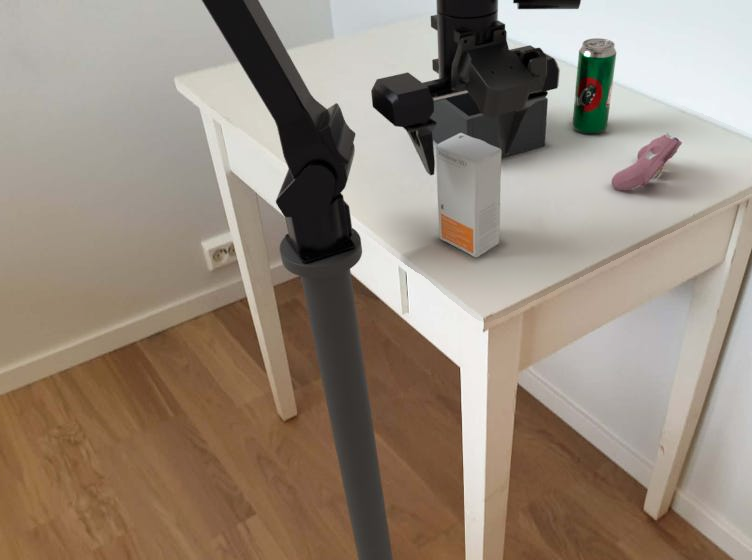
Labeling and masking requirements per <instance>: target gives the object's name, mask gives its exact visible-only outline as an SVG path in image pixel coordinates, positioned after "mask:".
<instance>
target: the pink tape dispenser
mask: <svg viewBox="0 0 752 560" xmlns="http://www.w3.org/2000/svg"><path fill="white" fill-rule="evenodd" d="M682 144H683V142H682V141H681V140H680V139H679V138H678V137H675V135H670V134H669V132H667V133H666V134H663V135H660V136H659V137H657V138H654V139H653V140H651V141H650V142H649V143H648V144H646V145H644V146H643V147H641V148H640V149H639V150H638V152H637V156H636V157H637V161H636V162H635V163H633V164H632V165H630V166H627V167H626V168H624V169H622V170H620V171H618V172H616V173H615V174H614V175H613V176H612V178H611V186H612V188H613V189H615V190H617V191H629V190H633V189H635V188H638V187H640V186H641V187H642V188H645V186H646V185H647V184H648V183H649V182H650V180H653V179H654V180H655V181H656V180H658V179H660V178H661V176H662V174H663V171H664V169H663V167H664V166H665V164H666V163H667V162H668V161H669V160H670V159H673V157H674V156H675V155H676V153H678V150H679V148H680V147H681V145H682Z"/></svg>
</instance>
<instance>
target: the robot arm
mask: <svg viewBox="0 0 752 560" xmlns="http://www.w3.org/2000/svg"><path fill="white" fill-rule="evenodd" d="M581 1H582V0H512V3H513V4H516V6H517V10H578V9H580V5H581ZM201 2H202V4H203V5H204V7H205V8H206V10H207V12H208V13H209V15H210V16H211V18H212V20H213V22H214V23H215V25H216V26H217V29H218V30H219V31H220V33H221V34H222V36H223V38H224V40H225V42H226V43H227V44H228V46H229V48H230V50H231V51H232V53H233V55H234V56H235V58H236V60H237V61H238V63H239V64H240V66H241V68H242V69H243V71H244V73H245V75H246V76H247V77H248V79H249V81H250V83H251V85H252V86H253V87H254V89H255V91H256V92H257V94H258V96H259V97H260V100H262V102H263V104H264V106H265V107H266V109H267V111H268V112H269V114H270V115H271V117H272V119H273V120H274V123H275V125H276V128H277V132H278V137H279V142H280V146H281V151H282V155H283V158H284V161H285V163H286V166H287V168H288V170H287V172H286V174H285V177H284V180H283V181H282V184H281V187H280V190H279V191H278V194H277V197H276V200H275V204H276V205H277V207H278V209H279V210H280V212H281V214H282V215H283V217H284V218H285V223H286V228H287V229H286V230H287V233H286V234H285V235H284V237H285V238H286V241H287V242H288V243H289V245H290V246H291V248H292V249H293V251H294V252H295V253H296V255H297V256H298V258H299V259H300V261H301V262H302V263H303V264H309V263H312V262H315V261H318V260H322V259H325V258H328V257H331V256H334V255H338V254H341V253H344V252H347V251H350V250H353V249H355V243H354V242H353V241H352V240H351V238H350V237H352V235H353V231H352V228H353V225H352V216H351V210H350V206H349V204H348V203H347V202H346V201H345V199H344V195H343V194H342V193H343V191H344V190H345V189H346V187H347V182H348V181H349V176H350V172H351V168H352V165H353V161H354V157H355V152H356V148H355V144H354V142H355V138H356V136H357V135H356V132H355V131H354V130H352V128H351V127H350V126H349V125H348V123H347V121H346V120H345V117H344V115H343V112H342V109H341V106H340V105H339V103H336V102H335V103H334V104H333V105H331V106H329V107H328V108H326V107H325V106H324V105H323V104H322V103H320V102H319V101H318V100H316V99H315V97H313V95H312V94H311V92H310V90H309V88H308V86H307V85H306V82H305V81H304V79H303V78H302V76H301V73H300V72H299V71H298V69H297V67H296V65H295V63H294V62H293V59H292V58H291V56H290V54H289V53H288V51H287V49H286V47H285V45H284V43H283V41H282V40H281V38H280V37H279V34H278V33H277V31H276V29H275V27H274V25H273V24H272V22H271V20H270V19H269V17H268V15H267V13H266V11H265V9H264V8H263V6H262V4H261V2H260V1H259V0H201ZM430 28H432V29H433V30H435V31H436V33H437V58H434V59H433V58H432V60H431V63H432V71H433V72H435V73H436V74H438V78H437V79H433V80H428V81H424V82H422V81H421V80H419V79H418V78H416V76H414V75H412V74H411V73H410V72H404V73H403V72H402V73H399V74H395V75H390V76H386V77H381V78H376V80H375V82H374V84H373V86H372V88H371V91H370V92H371V104H372V108H373V109H374V110H376V111H377V112H378V113H379V114H380V115H382V116H383V117H384V118H385V119H386V120H387V121H389V123H391V124H392V125H393V126H394V127H398V128H403V129H404V130H405V131H406V133H407V135H408V137H409V138H410V140H411V143H412V145H413V147H414V149H415V151H416V153H417V155H418V157H419V159H420V162H421V163H422V166H423V167H424V170H425V172H426V173H427V174H428V175H429V176H434V175H435V168H436V158H435V150H434V149H435V148H434V140H433V136H432V131H433V129H434V128H435V126H436V124H437V122H436V121H435V120H433V119H432V118H431V117H430V116H431V115H432V114H433V112H434V102H435V101H439V100H443V99H448V98H452V97H456V96H460V95H464V94H468V93H469V94H470V96H471V97H472V99H473V100H474V101H475V103H476V104H477V106H478V108H479V111H480V112H481V113H482V114H483V115H484V116H486V117H491V118H493V117H498V137H499V144H500V149H501V152H502V153H504V154H508V153H509V151H510V149H511V146H512V144H513V142H514V139H515V137H516V134H517V132H518V129H519V127H520V125H521V122H522V120H523V118H524V116H525V114H526V112H527V110H528V109H529V107H530V106H531V105H533V104H534V103H535V102H537V101H538V100H540V99H542V98H545V97H546V98H547V96H548V95H549V92H548V91H552V90H556V89H558V88H559V83H560V71H561V69H560V67H559V64H558V62H557V60H556V59H555V58H554V57H552V56H550V55H549V54H547V53H545V52H544V51H543V48H541V47H534V46H533V45H530V44H529V45H525V46H520V47H515V48H511V49H510V48H509V44H508V41H507V37H508V36H507V33H508V32H507V29H506V23H504V22H502V21H500V20H499V0H436V14H433V15H430Z"/></svg>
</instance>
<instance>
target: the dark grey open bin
mask: <svg viewBox="0 0 752 560" xmlns="http://www.w3.org/2000/svg"><path fill="white" fill-rule="evenodd" d="M548 103H549V100H548V97H547V96H546V97H545V98H542V99H540V100H538V101H537V102H535V103H534V104H533V105H531V106H530V107H529V109H528V110H527V112H526V114H525V116H524V118H523V120H522V122H521V125H520V127H519V129H518V132H517V134H516V137H515V139H514V142H513V144H512V146H511V149H510V151H509V153H508V154H504V153H502V152H501V159H503V158H508V157H511V156H514V155H517V154H522V153H525V152H529V151H532V150H535V149H539V148H542V147H545V146H546V134H547V119H548ZM430 117H431V118H432V119H433V120H435V121H436V122H437V124H436V126H435V128H434V129H433V131H432V136H433V142H435V143H436V144H439V143H441V142H443V141H445V140H447V139H449V138H451V137H453V136H455V135H457V134H459V133H463V134H465V135H468V136H470V137H473V138H476V139H480V140H482V141H485V142H486V143H488V144H490V145H492V146H495V147H497V148H500V144H499V137H498V117H493V118H491V117H486V116H484V115H483V114H482V113H481V112H480V111H479V108H478V106H477V104H476V103H475V101H474V100H473V99H472V97H471V96H470V94H469V93H468V94H464V95H460V96H456V97H452V98H448V99H443V100H439V101H435V102H434V112H433V114H432V115H431V116H430Z"/></svg>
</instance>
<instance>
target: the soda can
mask: <svg viewBox="0 0 752 560" xmlns="http://www.w3.org/2000/svg"><path fill="white" fill-rule="evenodd" d="M615 45H616V44H615V42H614V41H612V40H610V39H607V38H601V37H600V38H599V37H598V38H597V37H596V38H594V37H593V38H588V39H585V40H583V41H582V46H581V47H580V48H579V50H578V58H577V67H576V68H577V69H576V77H575V78H576V80H575V91H574V99H573V100H574V103H573V113H572V123H571V124H572V126H573V128H574V129H575V131H577V132H578V133H581V134H585V135H598V134H601V133H602V132H604V131H605V130H606V129H607V128H608V123H609V115H610V107H611V100H612V92H613V84H614V77H615V67H616V60H617V50H616V48H615V47H616V46H615Z"/></svg>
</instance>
